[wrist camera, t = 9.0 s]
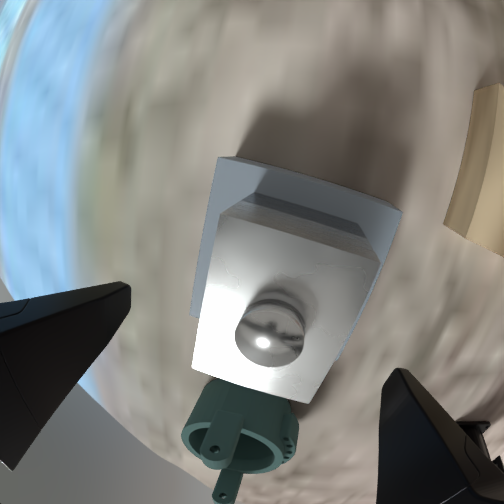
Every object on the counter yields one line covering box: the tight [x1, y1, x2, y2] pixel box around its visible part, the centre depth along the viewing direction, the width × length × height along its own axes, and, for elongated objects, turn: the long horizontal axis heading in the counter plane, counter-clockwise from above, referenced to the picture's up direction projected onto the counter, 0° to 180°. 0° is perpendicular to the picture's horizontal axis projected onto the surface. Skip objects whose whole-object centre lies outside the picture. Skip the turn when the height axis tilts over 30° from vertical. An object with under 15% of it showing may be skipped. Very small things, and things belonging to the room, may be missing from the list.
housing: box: [192, 192, 381, 404], centre depth 11 cm, size 5×6×6 cm
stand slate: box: [189, 156, 403, 361], centre depth 15 cm, size 9×9×3 cm
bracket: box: [181, 378, 299, 504], centre depth 18 cm, size 9×9×9 cm
